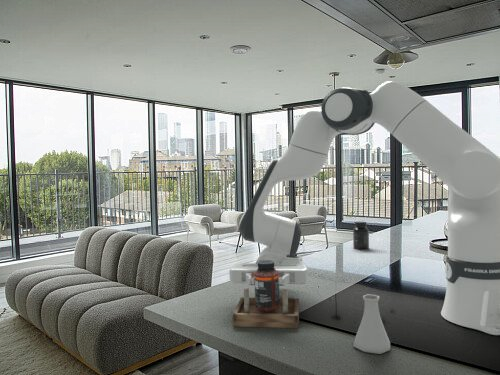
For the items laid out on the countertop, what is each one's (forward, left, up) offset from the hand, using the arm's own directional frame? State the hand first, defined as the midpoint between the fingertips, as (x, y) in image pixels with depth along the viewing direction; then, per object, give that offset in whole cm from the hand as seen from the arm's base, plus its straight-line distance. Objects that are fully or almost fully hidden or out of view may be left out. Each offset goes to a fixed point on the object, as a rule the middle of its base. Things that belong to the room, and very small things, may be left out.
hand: (266, 282), depth 92 cm
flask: (-22, +13, -9) cm, 27 cm away
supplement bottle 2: (-35, -87, -9) cm, 94 cm away
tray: (0, -1, -9) cm, 9 cm away
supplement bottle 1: (0, -1, -7) cm, 7 cm away
